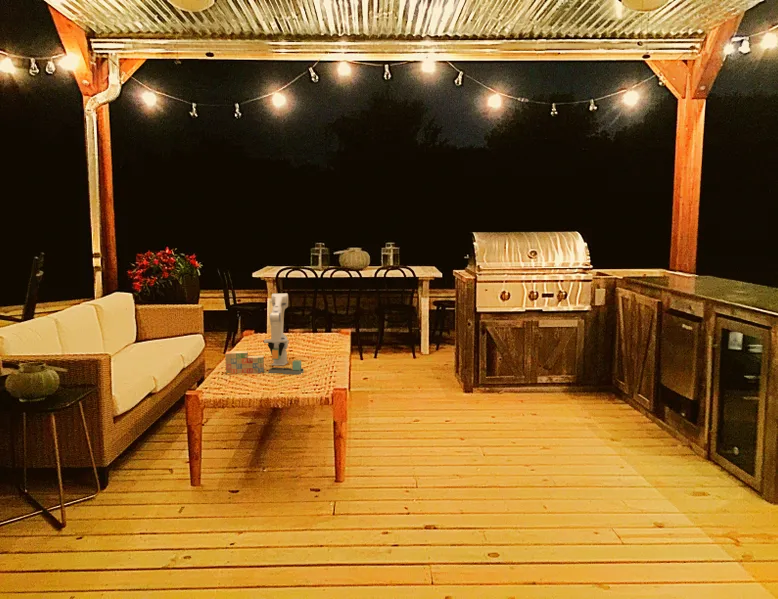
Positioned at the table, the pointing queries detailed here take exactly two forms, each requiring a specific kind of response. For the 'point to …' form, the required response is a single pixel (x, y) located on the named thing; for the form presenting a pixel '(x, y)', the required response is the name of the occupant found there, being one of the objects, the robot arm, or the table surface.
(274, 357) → the toy block
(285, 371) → the rail
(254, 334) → the table surface
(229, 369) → the stack of blocks
